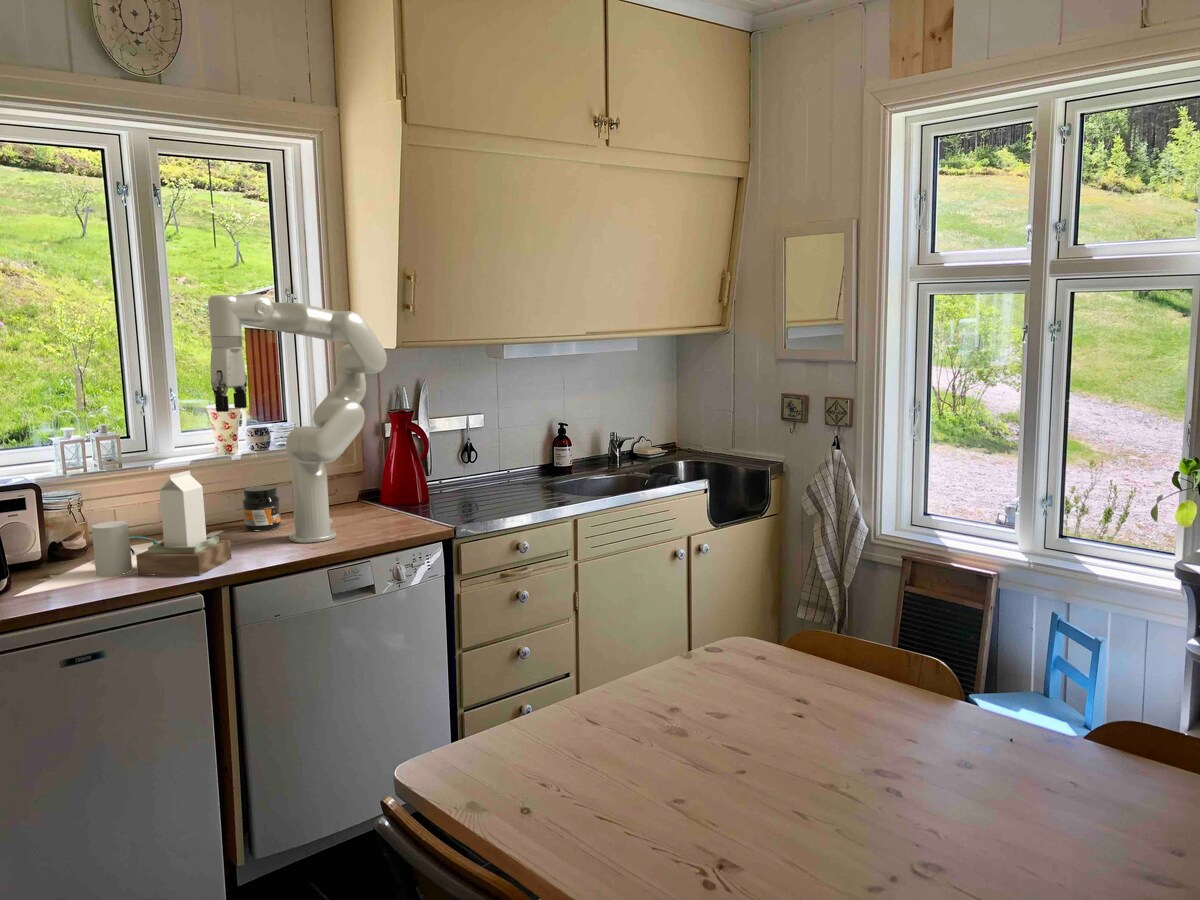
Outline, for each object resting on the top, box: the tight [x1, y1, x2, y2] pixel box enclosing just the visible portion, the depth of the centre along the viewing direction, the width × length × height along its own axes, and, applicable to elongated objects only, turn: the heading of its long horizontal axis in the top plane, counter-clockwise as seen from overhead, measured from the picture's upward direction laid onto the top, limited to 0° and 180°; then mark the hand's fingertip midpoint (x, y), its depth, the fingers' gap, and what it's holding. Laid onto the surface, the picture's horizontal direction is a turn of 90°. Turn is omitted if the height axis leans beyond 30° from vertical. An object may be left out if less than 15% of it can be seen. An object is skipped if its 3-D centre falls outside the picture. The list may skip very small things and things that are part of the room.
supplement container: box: [241, 485, 282, 532], centre depth 289 cm, size 10×10×12 cm
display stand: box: [135, 535, 233, 576], centre depth 245 cm, size 16×16×6 cm
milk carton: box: [159, 470, 207, 547], centre depth 244 cm, size 7×7×19 cm
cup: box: [91, 520, 133, 577], centre depth 242 cm, size 8×8×12 cm
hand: (231, 409), depth 253 cm, fingers open, 9 cm apart
